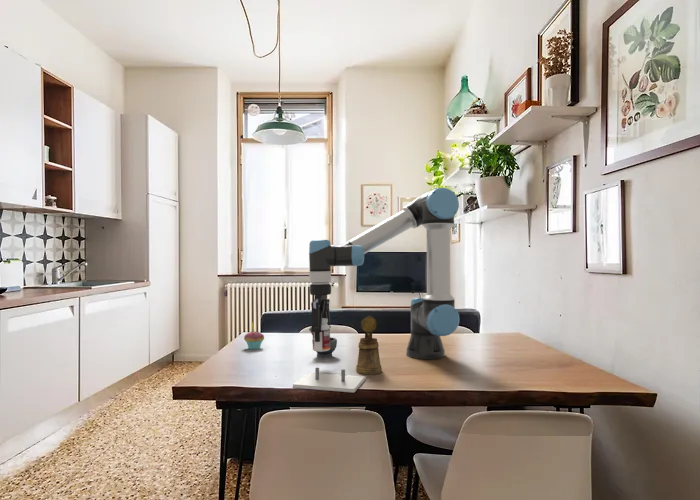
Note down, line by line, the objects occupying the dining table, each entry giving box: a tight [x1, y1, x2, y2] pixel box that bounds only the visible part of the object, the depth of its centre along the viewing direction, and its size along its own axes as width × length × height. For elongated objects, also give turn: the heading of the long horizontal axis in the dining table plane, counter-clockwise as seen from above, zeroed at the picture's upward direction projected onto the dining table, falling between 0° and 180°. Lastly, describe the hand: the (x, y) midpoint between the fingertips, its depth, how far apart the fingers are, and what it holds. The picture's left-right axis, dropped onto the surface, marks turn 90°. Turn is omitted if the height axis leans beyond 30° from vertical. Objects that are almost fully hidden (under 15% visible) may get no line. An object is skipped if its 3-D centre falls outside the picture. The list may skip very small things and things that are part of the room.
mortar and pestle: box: [308, 326, 338, 359], centre depth 173 cm, size 11×9×12 cm
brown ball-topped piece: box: [355, 315, 383, 375], centre depth 153 cm, size 9×14×18 cm, turn 176°
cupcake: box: [243, 322, 265, 350], centre depth 190 cm, size 9×8×12 cm
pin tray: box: [292, 367, 366, 394], centre depth 136 cm, size 19×14×4 cm
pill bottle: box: [312, 318, 331, 353], centre depth 155 cm, size 6×6×11 cm
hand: (321, 348), depth 155 cm, fingers closed on pill bottle, 6 cm apart
